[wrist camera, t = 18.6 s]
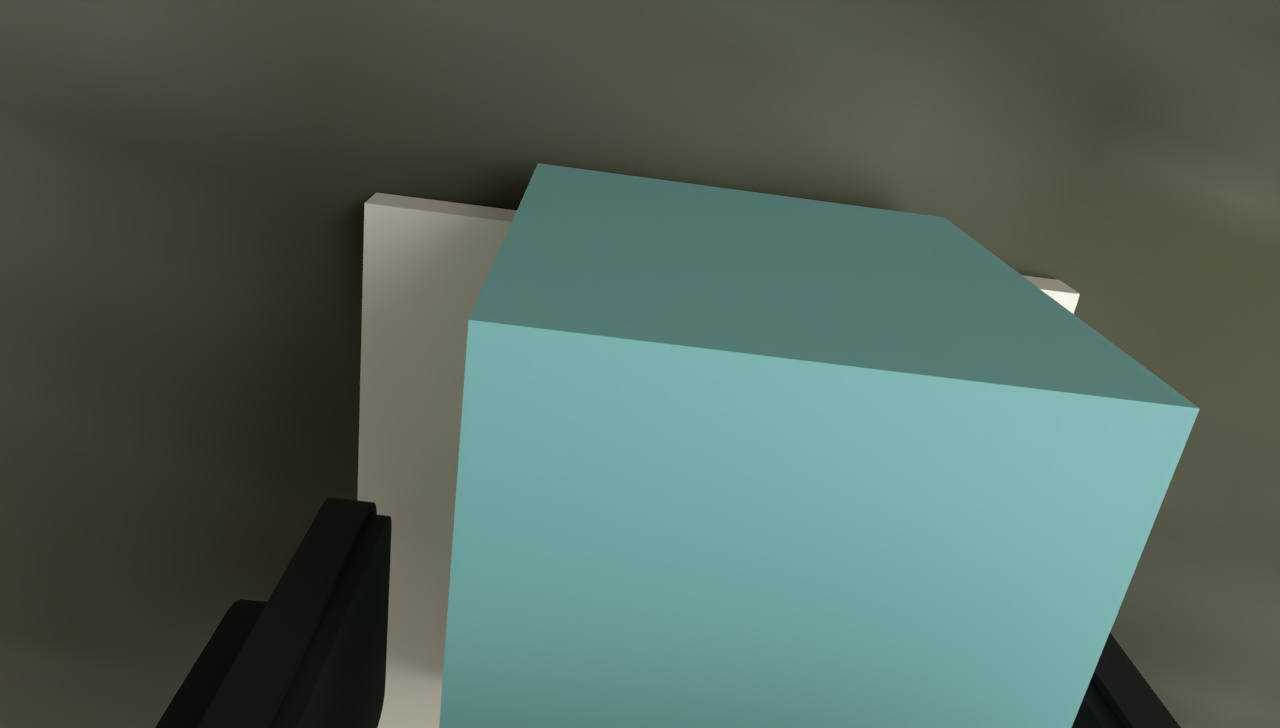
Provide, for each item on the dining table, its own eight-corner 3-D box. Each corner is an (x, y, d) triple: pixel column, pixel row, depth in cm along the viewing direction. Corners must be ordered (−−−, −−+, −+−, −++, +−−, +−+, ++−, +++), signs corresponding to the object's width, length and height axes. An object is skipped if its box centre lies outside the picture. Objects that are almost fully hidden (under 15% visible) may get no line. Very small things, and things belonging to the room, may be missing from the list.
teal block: (487, 690, 14) (413, 1088, 9) (538, 163, 11) (467, 320, 6) (811, 721, 15) (912, 1122, 9) (944, 217, 12) (1199, 409, 6)
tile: (360, 737, 15) (351, 766, 15) (376, 192, 12) (364, 203, 11) (898, 785, 16) (908, 814, 15) (1059, 280, 12) (1079, 294, 12)
